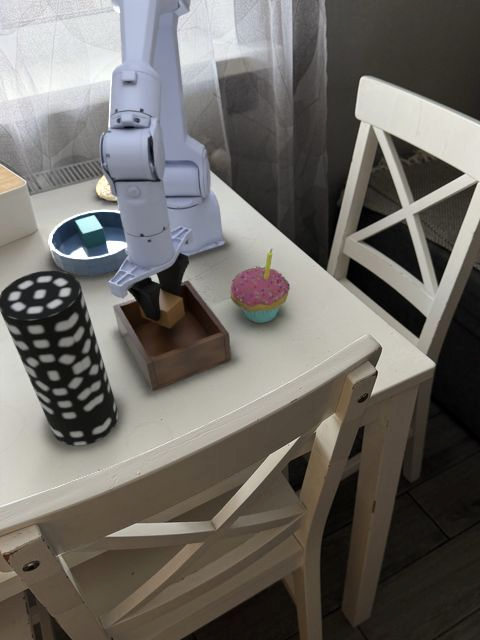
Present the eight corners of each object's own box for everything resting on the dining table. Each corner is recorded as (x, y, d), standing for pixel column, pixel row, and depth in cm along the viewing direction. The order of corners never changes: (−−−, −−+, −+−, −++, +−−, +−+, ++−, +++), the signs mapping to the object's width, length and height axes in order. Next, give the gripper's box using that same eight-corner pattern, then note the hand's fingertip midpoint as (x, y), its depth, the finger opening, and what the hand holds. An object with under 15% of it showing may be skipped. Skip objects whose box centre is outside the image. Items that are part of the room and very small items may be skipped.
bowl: (126, 218, 110) (122, 201, 108) (156, 259, 100) (153, 241, 98) (44, 242, 105) (38, 225, 103) (67, 287, 95) (61, 269, 93)
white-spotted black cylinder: (57, 397, 78) (8, 273, 64) (121, 392, 78) (85, 267, 65) (45, 448, 72) (-12, 323, 58) (115, 442, 72) (74, 317, 59)
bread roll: (125, 170, 124) (122, 148, 120) (165, 191, 120) (163, 169, 116) (85, 194, 118) (80, 172, 114) (125, 217, 114) (122, 195, 110)
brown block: (157, 303, 86) (154, 286, 84) (185, 314, 84) (182, 297, 82) (141, 317, 84) (138, 300, 82) (169, 328, 82) (166, 312, 80)
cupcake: (296, 301, 91) (296, 234, 83) (278, 337, 85) (277, 268, 77) (243, 291, 93) (239, 224, 85) (223, 325, 87) (216, 257, 79)
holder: (192, 306, 91) (188, 279, 88) (231, 360, 82) (229, 333, 79) (119, 331, 87) (112, 305, 84) (152, 391, 78) (146, 364, 75)
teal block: (98, 229, 107) (94, 215, 105) (106, 242, 104) (102, 228, 102) (79, 235, 106) (74, 220, 104) (87, 248, 103) (82, 233, 100)
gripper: (158, 191, 80) (171, 273, 89) (81, 244, 71) (105, 329, 80) (200, 204, 77) (210, 288, 86) (126, 261, 68) (145, 347, 77)
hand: (162, 309), depth 83 cm, fingers closed on brown block, 3 cm apart
